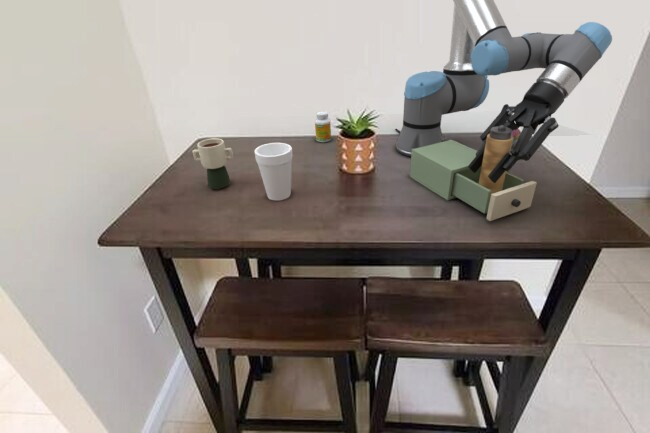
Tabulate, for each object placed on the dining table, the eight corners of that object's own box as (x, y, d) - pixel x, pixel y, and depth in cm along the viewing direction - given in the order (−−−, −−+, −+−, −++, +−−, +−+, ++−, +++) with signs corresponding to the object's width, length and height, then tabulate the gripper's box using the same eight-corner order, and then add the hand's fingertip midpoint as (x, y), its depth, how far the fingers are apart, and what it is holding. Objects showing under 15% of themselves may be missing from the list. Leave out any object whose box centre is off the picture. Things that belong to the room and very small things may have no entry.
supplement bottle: (316, 143, 134) (314, 115, 129) (316, 137, 139) (314, 111, 134) (331, 142, 134) (330, 115, 129) (331, 136, 139) (329, 110, 134)
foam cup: (268, 206, 98) (261, 159, 91) (256, 192, 105) (249, 147, 98) (302, 197, 101) (297, 151, 94) (288, 183, 108) (283, 140, 101)
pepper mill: (471, 194, 94) (483, 124, 84) (488, 189, 95) (501, 119, 86) (488, 204, 89) (503, 130, 80) (505, 198, 91) (521, 126, 82)
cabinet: (488, 187, 101) (494, 158, 96) (447, 200, 96) (451, 170, 92) (448, 166, 113) (451, 139, 109) (409, 176, 108) (411, 149, 104)
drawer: (534, 209, 89) (541, 184, 85) (494, 223, 84) (499, 198, 81) (483, 182, 101) (488, 160, 98) (446, 194, 97) (449, 171, 93)
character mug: (240, 179, 112) (233, 136, 106) (236, 190, 106) (228, 146, 99) (204, 181, 112) (194, 139, 106) (197, 192, 106) (186, 148, 100)
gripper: (594, 110, 80) (520, 198, 83) (521, 92, 94) (460, 168, 97) (585, 88, 75) (507, 182, 78) (510, 73, 89) (446, 153, 92)
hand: (481, 174), depth 88 cm, fingers closed on pepper mill, 5 cm apart
